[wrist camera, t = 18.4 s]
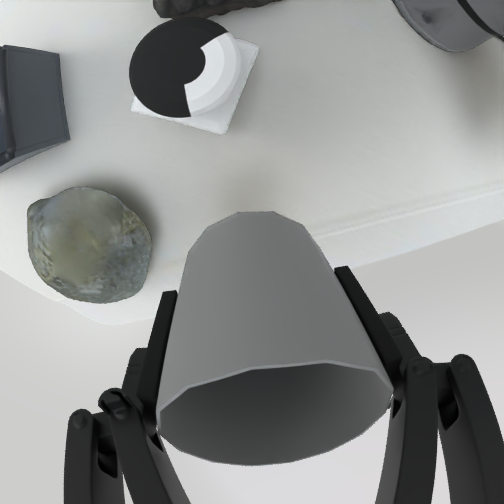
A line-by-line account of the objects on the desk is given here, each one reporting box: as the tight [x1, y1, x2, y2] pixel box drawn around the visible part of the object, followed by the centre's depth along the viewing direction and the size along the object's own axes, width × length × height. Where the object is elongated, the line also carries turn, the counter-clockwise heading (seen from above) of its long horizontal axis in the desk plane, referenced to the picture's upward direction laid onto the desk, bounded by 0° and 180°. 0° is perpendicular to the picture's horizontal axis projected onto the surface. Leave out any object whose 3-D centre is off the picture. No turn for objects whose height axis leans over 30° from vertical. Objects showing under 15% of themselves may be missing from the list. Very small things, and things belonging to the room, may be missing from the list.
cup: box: [156, 211, 394, 466], centre depth 13 cm, size 8×8×10 cm
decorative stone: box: [27, 187, 152, 304], centre depth 27 cm, size 14×15×10 cm
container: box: [129, 17, 260, 135], centre depth 18 cm, size 8×8×13 cm
